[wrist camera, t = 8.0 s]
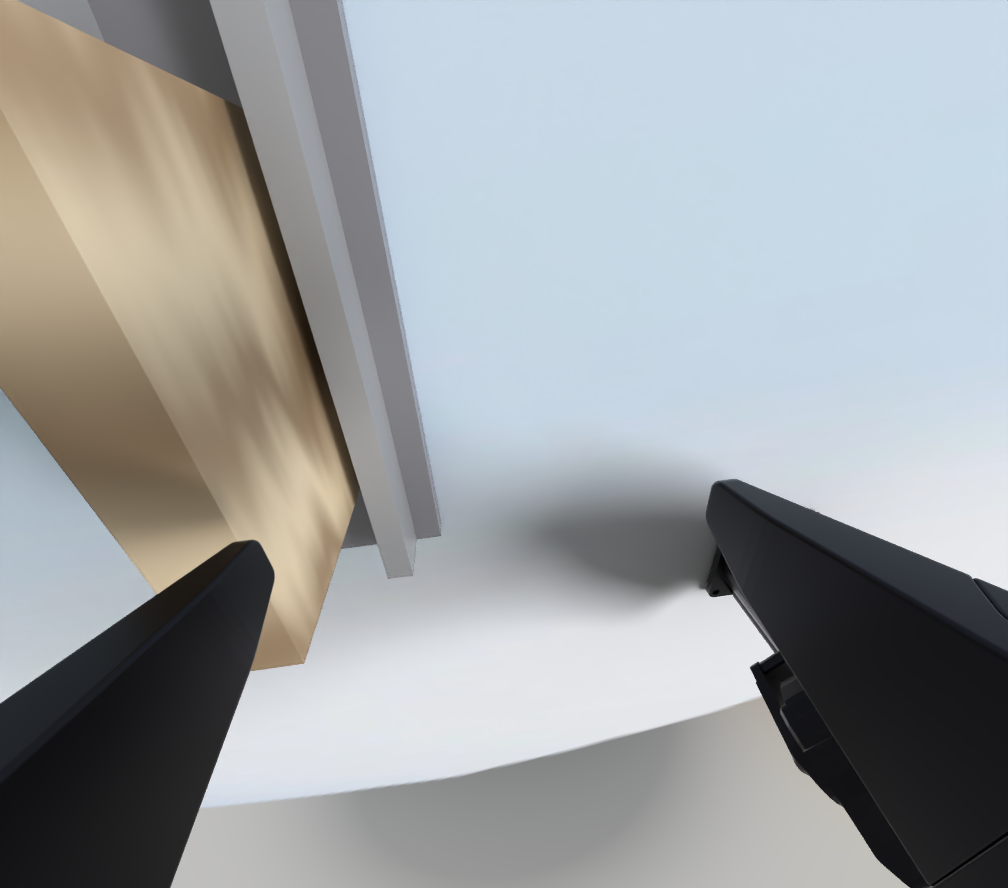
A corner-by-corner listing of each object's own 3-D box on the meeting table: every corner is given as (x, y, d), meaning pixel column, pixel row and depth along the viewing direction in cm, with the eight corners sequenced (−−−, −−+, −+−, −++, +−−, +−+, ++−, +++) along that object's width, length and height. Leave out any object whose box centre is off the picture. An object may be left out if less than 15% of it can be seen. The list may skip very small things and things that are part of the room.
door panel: (361, 482, 19) (304, 663, 12) (293, 490, 19) (189, 679, 12) (251, 112, 12) (-86, -49, 5) (140, 117, 12) (-412, -42, 4)
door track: (441, 523, 23) (439, 571, 20) (276, 544, 22) (249, 597, 19) (329, -67, 11) (285, -165, 8) (-17, -58, 11) (-197, -160, 8)
